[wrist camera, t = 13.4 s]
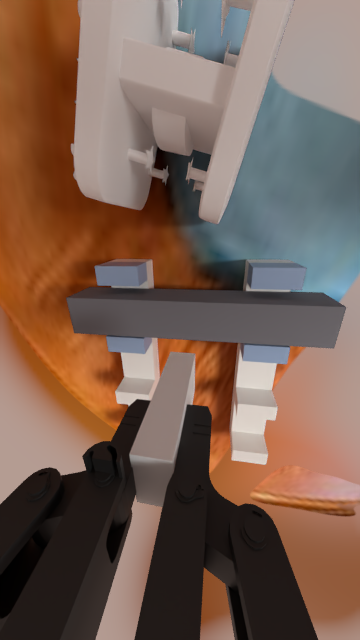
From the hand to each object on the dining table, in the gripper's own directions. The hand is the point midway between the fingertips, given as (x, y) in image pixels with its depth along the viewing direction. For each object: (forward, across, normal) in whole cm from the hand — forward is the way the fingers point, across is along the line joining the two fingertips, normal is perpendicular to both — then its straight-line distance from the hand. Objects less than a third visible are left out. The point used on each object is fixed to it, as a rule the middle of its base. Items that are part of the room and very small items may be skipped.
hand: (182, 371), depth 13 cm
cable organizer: (+16, +2, -16) cm, 23 cm away
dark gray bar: (+13, 0, 0) cm, 13 cm away
